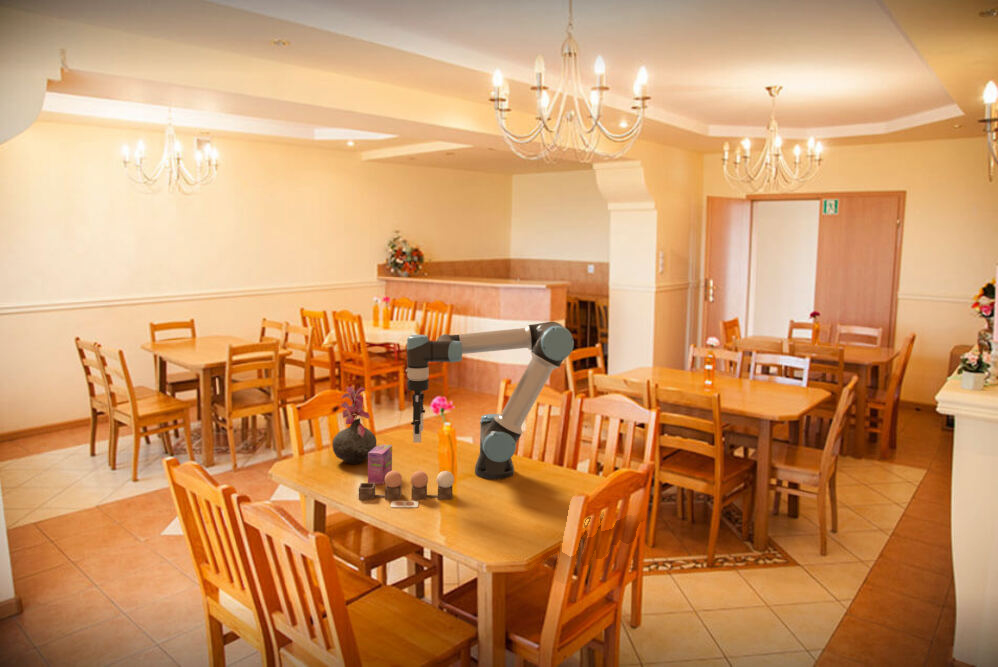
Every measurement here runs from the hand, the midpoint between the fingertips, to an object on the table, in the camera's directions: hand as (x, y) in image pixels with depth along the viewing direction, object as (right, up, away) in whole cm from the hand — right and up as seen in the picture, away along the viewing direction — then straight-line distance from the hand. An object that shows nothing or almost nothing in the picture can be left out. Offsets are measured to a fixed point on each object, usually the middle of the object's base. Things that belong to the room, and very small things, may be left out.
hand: (418, 436), depth 236 cm
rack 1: (-12, -20, -8) cm, 25 cm away
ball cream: (+10, -17, -7) cm, 21 cm away
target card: (-3, -21, -14) cm, 26 cm away
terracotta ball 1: (-8, -17, -8) cm, 20 cm away
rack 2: (+6, -20, -7) cm, 22 cm away
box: (-15, -17, +9) cm, 25 cm away
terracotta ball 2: (+1, -17, -8) cm, 18 cm away
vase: (-28, -15, +27) cm, 42 cm away
